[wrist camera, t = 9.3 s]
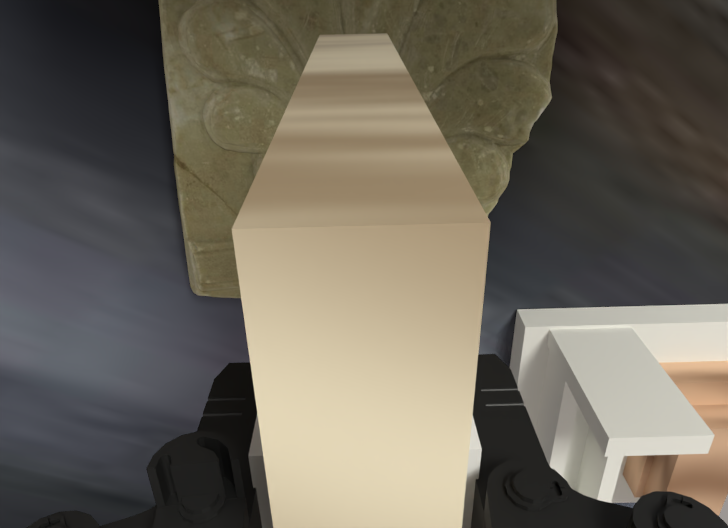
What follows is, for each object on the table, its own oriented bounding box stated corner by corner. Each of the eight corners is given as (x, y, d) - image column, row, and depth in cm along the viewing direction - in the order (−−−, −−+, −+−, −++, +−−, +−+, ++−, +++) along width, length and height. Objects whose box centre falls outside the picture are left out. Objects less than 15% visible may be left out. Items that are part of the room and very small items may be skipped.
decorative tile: (198, 276, 35) (183, 306, 32) (165, -106, 26) (139, -115, 23) (494, 289, 36) (507, 320, 33) (565, -77, 27) (593, -82, 24)
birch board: (319, 35, 17) (231, 228, 4) (387, 33, 17) (490, 222, 4) (336, 360, 22) (318, 850, 10) (386, 358, 22) (431, 846, 10)
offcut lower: (653, 362, 36) (668, 383, 34) (731, 360, 36) (751, 380, 34) (622, 474, 41) (634, 497, 39) (691, 472, 41) (707, 495, 39)
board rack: (517, 309, 36) (578, 435, 26) (734, 303, 36) (874, 427, 27) (494, 484, 44) (535, 633, 34) (674, 479, 44) (766, 625, 34)
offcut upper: (670, 406, 35) (687, 429, 33) (734, 404, 35) (754, 427, 33) (642, 495, 39) (656, 520, 37) (700, 493, 39) (717, 518, 37)
